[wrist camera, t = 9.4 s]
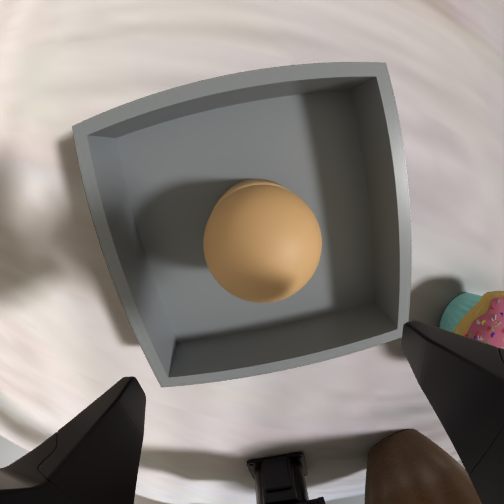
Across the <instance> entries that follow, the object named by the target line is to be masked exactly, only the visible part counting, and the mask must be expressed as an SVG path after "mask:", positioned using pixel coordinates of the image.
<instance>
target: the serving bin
mask: <svg viewBox="0 0 504 504" xmlns="http://www.w3.org/2000/svg"><path fill="white" fill-rule="evenodd" d="M72 129H73V135H74V141H75V147H76V152H77V157H78V162H79V167H80V171H81V176H82V180H83V185H84V189H85V193H86V197H87V201H88V204H89V208H90V212H91V215H92V219H93V222H94V226H95V229H96V232H97V236H98V239H99V242H100V245H101V248H102V251H103V254H104V257H105V260H106V263H107V266H108V269H109V272H110V274H111V277H112V280H113V282H114V285H115V288H116V290H117V293H118V295H119V298H120V300H121V303H122V305H123V308H124V310H125V313H126V315H127V317H128V320H129V322H130V324H131V326H132V329H133V331H134V333H135V335H136V338H137V340H138V342H139V344H140V346H141V348H142V350H143V352H144V354H145V357H146V359H147V361H148V363H149V365H150V367H151V369H152V370H153V372H154V374H155V376H156V378H157V380H158V382H159V384H160V386H161V387H173V386H184V385H193V384H202V383H210V382H218V381H225V380H232V379H238V378H244V377H250V376H256V375H261V374H267V373H272V372H277V371H282V370H287V369H291V368H296V367H300V366H305V365H309V364H313V363H317V362H321V361H325V360H329V359H333V358H337V357H340V356H344V355H348V354H351V353H355V352H358V351H361V350H365V349H368V348H371V347H374V346H377V345H381V344H384V343H387V342H390V341H393V340H396V339H398V338H401V337H402V332H403V325H404V324H405V323H406V322H408V321H409V309H410V293H411V216H410V200H409V187H408V177H407V168H406V160H405V153H404V146H403V139H402V133H401V127H400V122H399V116H398V111H397V106H396V102H395V97H394V93H393V89H392V84H391V80H390V76H389V73H388V69H387V65H386V63H379V62H333V63H313V64H301V65H290V66H281V67H273V68H266V69H259V70H252V71H246V72H241V73H235V74H230V75H225V76H220V77H215V78H211V79H207V80H202V81H198V82H194V83H190V84H187V85H183V86H179V87H176V88H172V89H169V90H165V91H162V92H159V93H156V94H152V95H149V96H146V97H143V98H140V99H138V100H135V101H132V102H129V103H126V104H124V105H121V106H118V107H116V108H113V109H111V110H108V111H106V112H103V113H101V114H99V115H96V116H94V117H92V118H89V119H87V120H85V121H83V122H81V123H78V124H76V125H74V126H72ZM248 179H267V180H270V181H273V182H276V183H278V184H280V185H281V186H283V187H285V188H286V189H288V190H290V191H291V192H293V193H294V194H296V195H297V196H298V197H300V198H301V199H302V200H303V201H304V202H305V203H306V204H307V205H308V206H309V207H310V209H311V210H312V212H313V213H314V215H315V217H316V219H317V221H318V224H319V227H320V231H321V236H322V250H321V256H320V261H319V263H318V266H317V268H316V270H315V272H314V274H313V276H312V277H311V279H310V280H309V281H308V282H307V283H306V285H305V286H304V287H302V288H301V289H300V290H299V291H298V292H296V293H295V294H293V295H291V296H290V297H288V298H285V299H283V300H280V301H276V302H270V303H255V302H250V301H246V300H243V299H240V298H238V297H236V296H234V295H232V294H231V293H229V292H227V291H226V290H225V289H224V288H223V287H222V286H221V285H220V284H219V283H218V282H217V281H216V280H215V278H214V277H213V275H212V274H211V272H210V270H209V268H208V265H207V262H206V259H205V255H204V248H203V240H204V232H205V228H206V225H207V222H208V219H209V217H210V215H211V213H212V211H213V209H214V207H215V205H216V203H217V201H218V199H219V198H220V197H221V195H222V194H223V193H224V192H225V191H226V190H227V189H228V188H230V187H231V186H233V185H234V184H236V183H238V182H241V181H244V180H248Z"/></svg>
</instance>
